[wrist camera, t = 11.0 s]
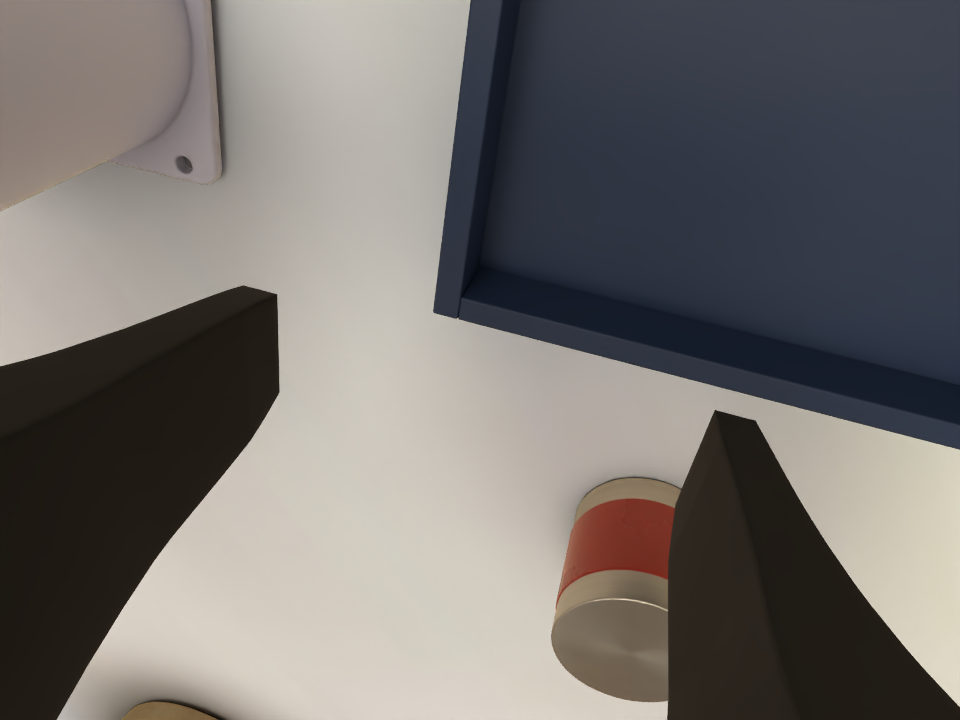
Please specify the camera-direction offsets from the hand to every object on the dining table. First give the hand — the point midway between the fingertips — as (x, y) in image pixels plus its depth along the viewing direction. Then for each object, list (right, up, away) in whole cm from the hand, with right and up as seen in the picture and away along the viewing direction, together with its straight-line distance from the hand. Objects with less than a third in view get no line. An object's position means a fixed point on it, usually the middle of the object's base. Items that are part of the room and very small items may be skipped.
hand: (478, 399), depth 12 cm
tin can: (+6, -5, +13) cm, 15 cm away
